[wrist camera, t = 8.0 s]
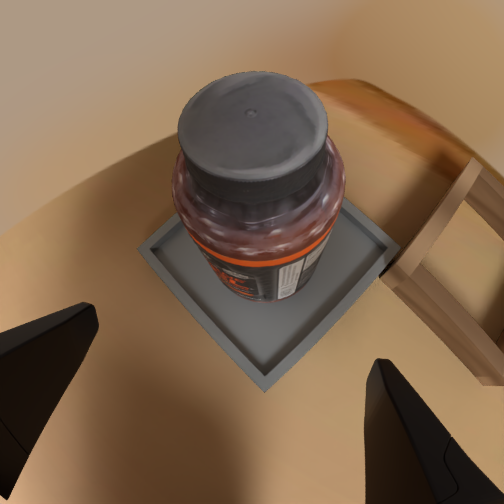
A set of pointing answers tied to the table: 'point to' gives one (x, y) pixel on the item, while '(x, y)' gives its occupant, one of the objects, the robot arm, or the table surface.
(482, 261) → the table surface
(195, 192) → the supplement bottle
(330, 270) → the slate tray
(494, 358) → the walnut collar
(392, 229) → the table surface
